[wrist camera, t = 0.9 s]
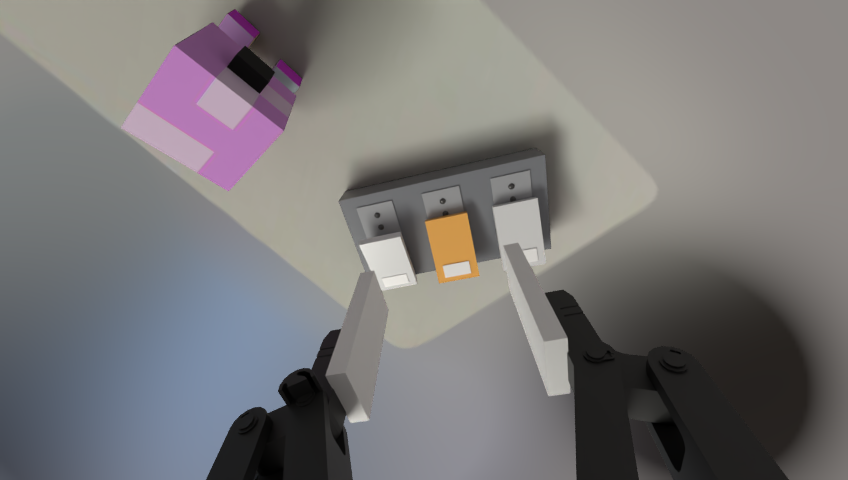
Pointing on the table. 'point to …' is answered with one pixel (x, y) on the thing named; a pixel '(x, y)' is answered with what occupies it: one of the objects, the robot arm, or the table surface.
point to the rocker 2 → (452, 247)
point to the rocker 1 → (389, 260)
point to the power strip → (448, 204)
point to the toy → (215, 102)
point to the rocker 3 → (520, 229)
